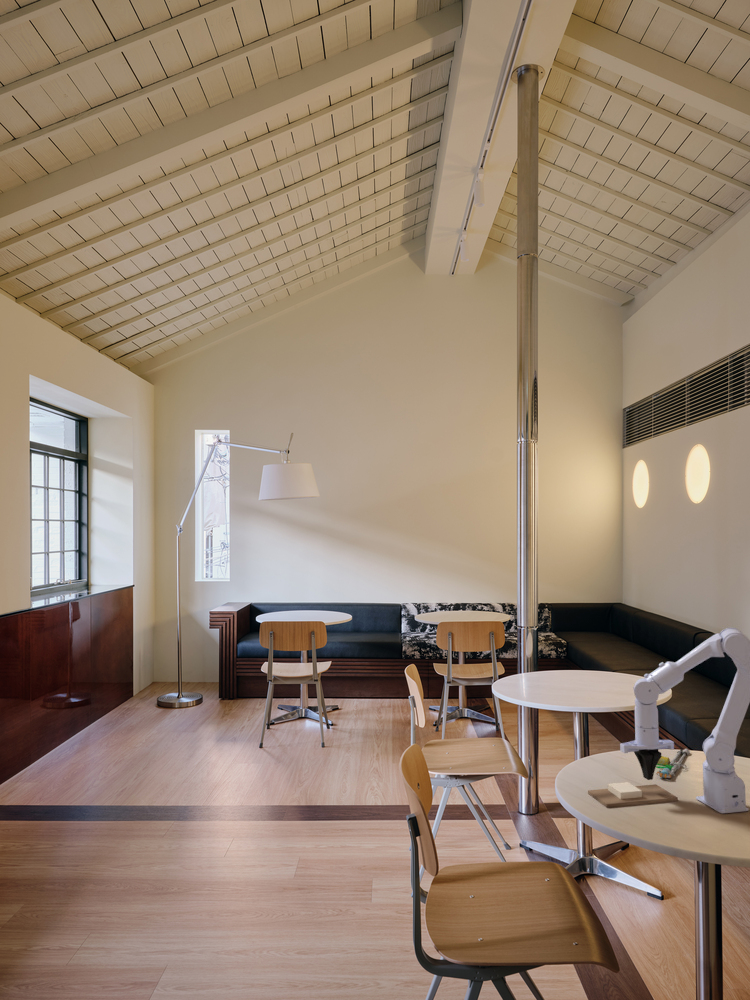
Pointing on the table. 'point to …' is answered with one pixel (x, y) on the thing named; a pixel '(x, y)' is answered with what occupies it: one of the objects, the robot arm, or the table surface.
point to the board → (648, 796)
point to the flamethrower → (671, 764)
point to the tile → (624, 790)
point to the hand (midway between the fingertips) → (648, 778)
